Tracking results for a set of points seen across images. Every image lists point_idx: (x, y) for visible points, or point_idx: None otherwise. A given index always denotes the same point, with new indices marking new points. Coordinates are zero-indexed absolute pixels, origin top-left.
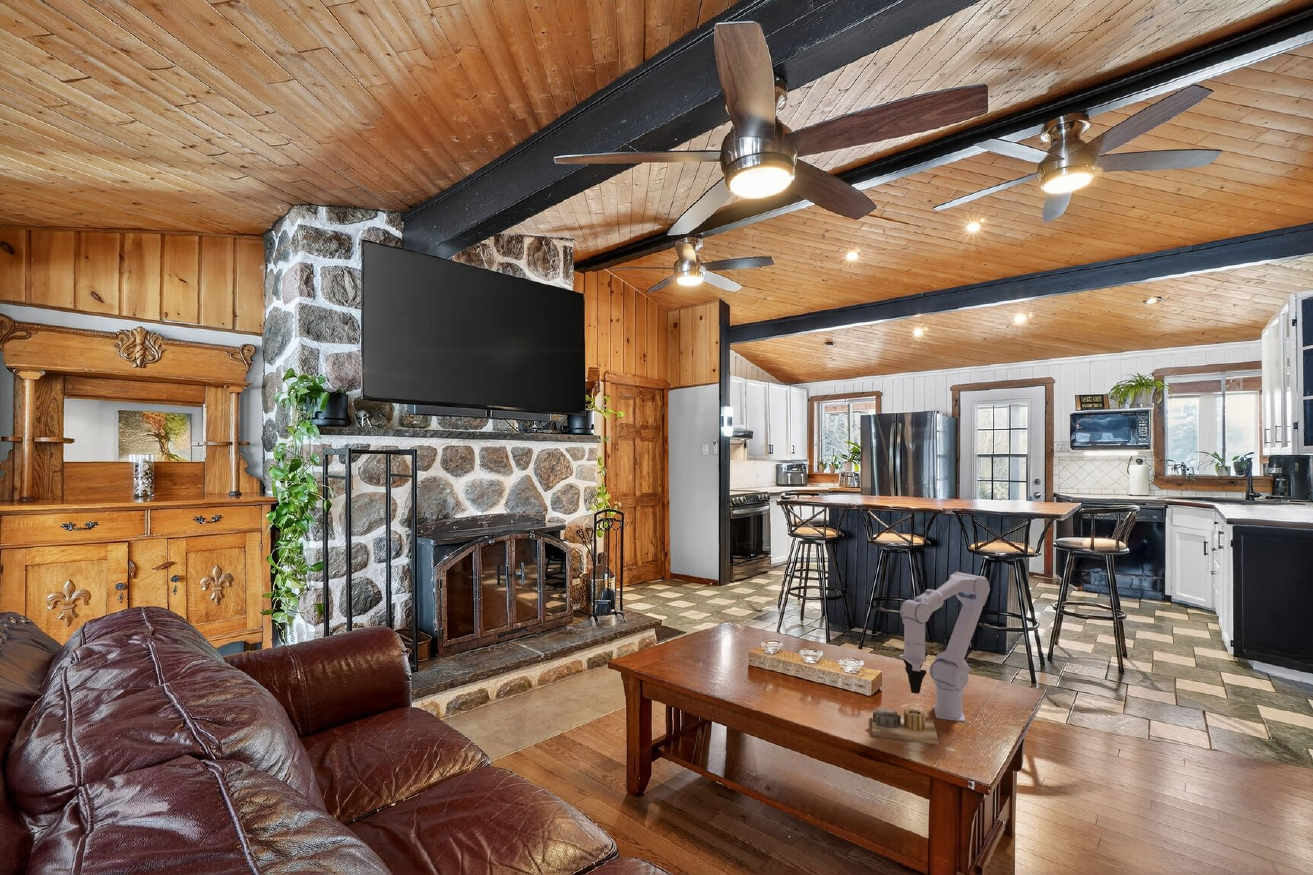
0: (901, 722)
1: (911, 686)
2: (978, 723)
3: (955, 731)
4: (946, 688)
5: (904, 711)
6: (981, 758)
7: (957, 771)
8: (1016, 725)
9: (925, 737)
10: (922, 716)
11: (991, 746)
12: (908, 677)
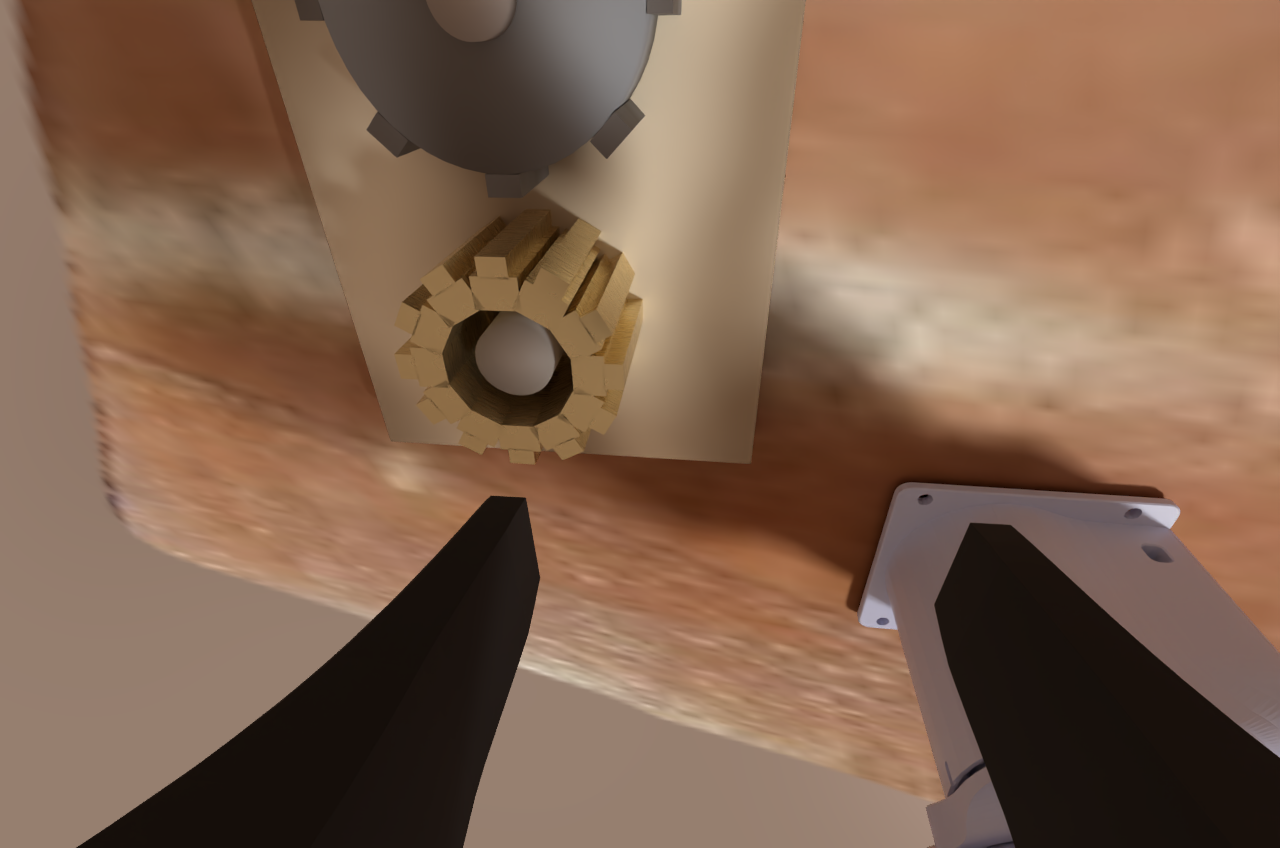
0: (599, 188)
1: (427, 579)
2: (852, 661)
3: (690, 541)
4: (973, 782)
5: (483, 265)
6: (378, 577)
7: (138, 454)
8: (855, 772)
9: (367, 364)
10: (467, 429)
11: (550, 641)
12: (1036, 609)
